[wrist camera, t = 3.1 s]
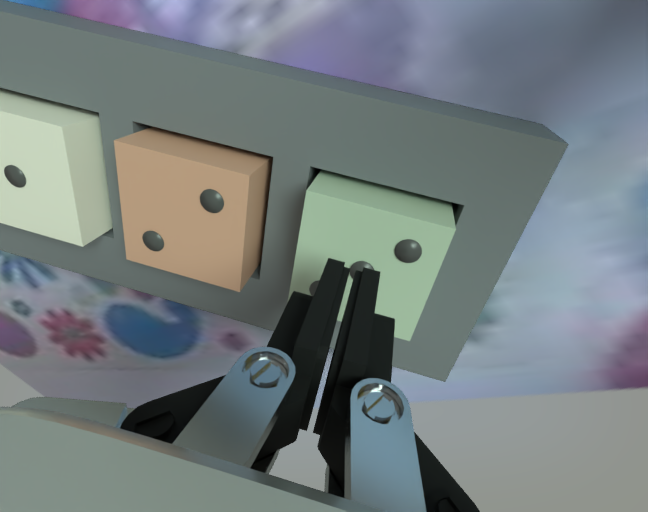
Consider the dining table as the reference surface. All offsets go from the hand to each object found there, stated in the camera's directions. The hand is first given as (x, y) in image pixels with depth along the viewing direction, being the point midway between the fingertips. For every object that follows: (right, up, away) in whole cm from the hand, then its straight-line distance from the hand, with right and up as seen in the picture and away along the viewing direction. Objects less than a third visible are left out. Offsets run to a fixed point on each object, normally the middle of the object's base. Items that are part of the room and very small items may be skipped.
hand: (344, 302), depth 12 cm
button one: (-12, +6, +5) cm, 15 cm away
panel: (-5, +5, +6) cm, 9 cm away
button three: (+1, +2, +4) cm, 5 cm away
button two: (-5, +4, +5) cm, 8 cm away
